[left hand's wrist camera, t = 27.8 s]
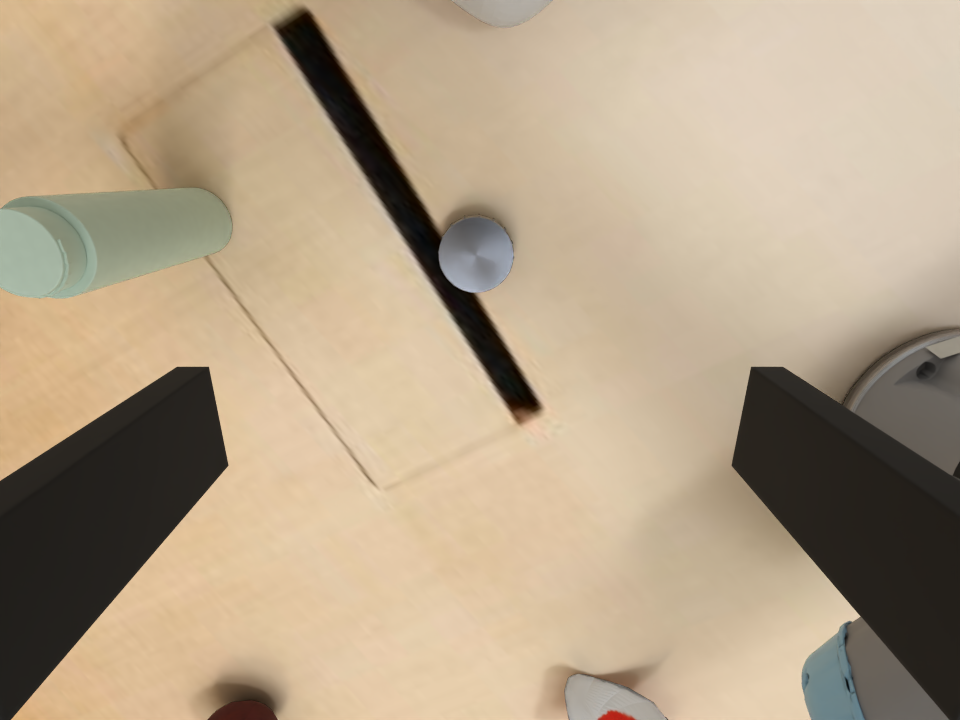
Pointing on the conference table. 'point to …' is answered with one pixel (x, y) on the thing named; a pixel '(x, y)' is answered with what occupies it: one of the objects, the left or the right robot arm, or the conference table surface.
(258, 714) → the potato
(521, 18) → the projector
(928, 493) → the left robot arm
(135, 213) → the bottle
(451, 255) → the lid
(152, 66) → the conference table surface
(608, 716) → the fish
